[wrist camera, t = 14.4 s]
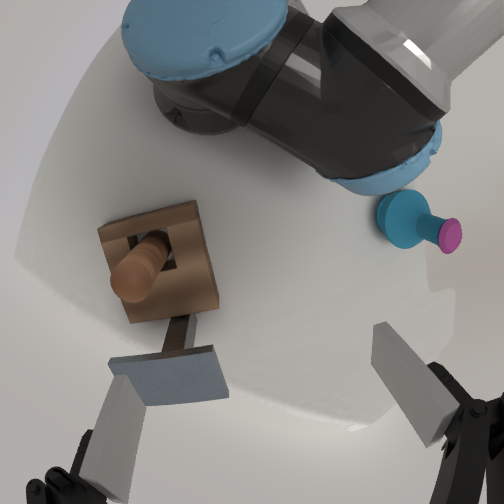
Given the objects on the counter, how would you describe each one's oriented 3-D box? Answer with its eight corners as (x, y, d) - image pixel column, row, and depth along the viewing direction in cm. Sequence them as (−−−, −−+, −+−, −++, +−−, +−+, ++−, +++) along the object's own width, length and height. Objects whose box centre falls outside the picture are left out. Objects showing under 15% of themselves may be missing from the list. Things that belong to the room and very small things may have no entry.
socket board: (107, 222, 38) (97, 229, 34) (195, 200, 38) (192, 204, 34) (137, 311, 42) (130, 323, 39) (219, 295, 43) (218, 308, 39)
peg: (140, 233, 39) (104, 267, 26) (168, 227, 39) (142, 259, 26) (148, 261, 40) (118, 305, 27) (175, 255, 40) (155, 299, 27)
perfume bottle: (418, 194, 41) (480, 211, 27) (405, 245, 44) (461, 276, 30) (377, 179, 40) (440, 190, 26) (363, 234, 42) (419, 267, 28)
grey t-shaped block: (142, 295, 42) (107, 364, 25) (215, 281, 42) (212, 351, 26) (156, 331, 44) (133, 406, 28) (225, 320, 44) (229, 397, 28)
